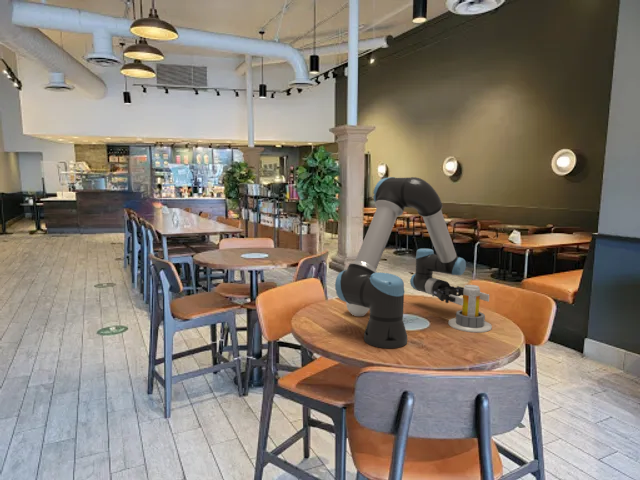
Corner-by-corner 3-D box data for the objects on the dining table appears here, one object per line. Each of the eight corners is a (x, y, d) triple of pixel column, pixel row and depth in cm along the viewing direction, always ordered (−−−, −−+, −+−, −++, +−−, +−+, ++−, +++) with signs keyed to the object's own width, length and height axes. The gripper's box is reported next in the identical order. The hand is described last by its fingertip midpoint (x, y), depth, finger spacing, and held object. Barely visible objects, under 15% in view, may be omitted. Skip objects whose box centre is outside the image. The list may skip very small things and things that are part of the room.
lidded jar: (372, 318, 175) (372, 296, 174) (346, 317, 175) (346, 295, 174) (369, 310, 185) (370, 289, 184) (345, 310, 186) (345, 289, 184)
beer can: (475, 321, 169) (477, 284, 167) (479, 326, 163) (482, 288, 161) (459, 320, 170) (462, 284, 168) (463, 325, 164) (465, 287, 162)
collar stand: (483, 335, 155) (484, 322, 155) (442, 326, 165) (442, 314, 165) (497, 324, 168) (497, 313, 167) (457, 316, 178) (458, 305, 177)
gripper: (459, 293, 188) (498, 305, 169) (414, 299, 177) (450, 313, 158) (460, 277, 187) (499, 287, 168) (415, 282, 176) (451, 293, 157)
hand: (475, 300), depth 163 cm, fingers open, 13 cm apart
